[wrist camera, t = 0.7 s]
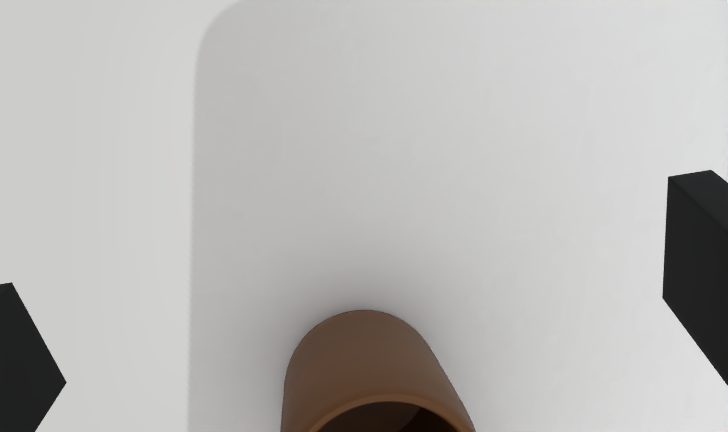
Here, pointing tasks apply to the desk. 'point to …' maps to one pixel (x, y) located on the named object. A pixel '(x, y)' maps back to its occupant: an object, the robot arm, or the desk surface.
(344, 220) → the desk surface
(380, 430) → the mug
